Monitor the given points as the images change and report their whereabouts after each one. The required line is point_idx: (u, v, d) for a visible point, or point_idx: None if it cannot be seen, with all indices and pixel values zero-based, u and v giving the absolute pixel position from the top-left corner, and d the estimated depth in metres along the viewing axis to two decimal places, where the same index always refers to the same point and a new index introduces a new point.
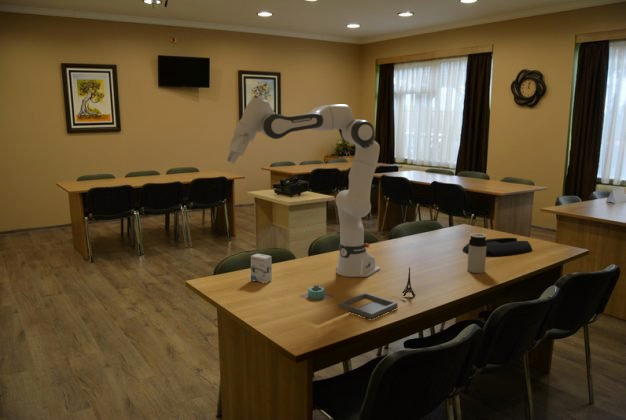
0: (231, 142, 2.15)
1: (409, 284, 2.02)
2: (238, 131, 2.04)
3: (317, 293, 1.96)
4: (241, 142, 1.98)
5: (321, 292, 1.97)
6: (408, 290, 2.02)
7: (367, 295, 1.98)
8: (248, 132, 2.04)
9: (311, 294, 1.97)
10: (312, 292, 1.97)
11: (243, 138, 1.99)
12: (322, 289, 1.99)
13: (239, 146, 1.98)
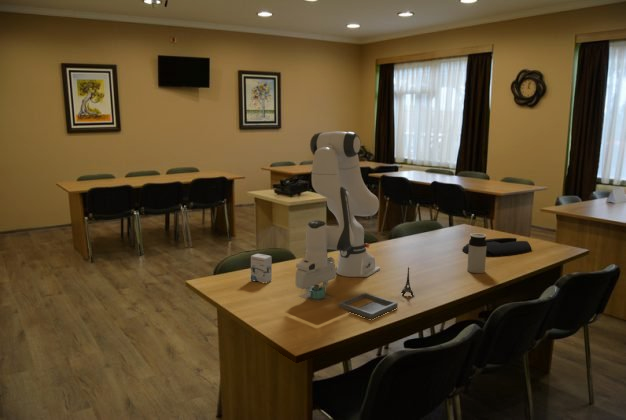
0: (304, 281, 1.91)
1: (408, 284, 2.03)
2: None
3: (317, 293, 1.96)
4: None
5: (321, 292, 1.97)
6: (407, 290, 2.03)
7: (367, 295, 1.98)
8: None
9: None
10: None
11: None
12: (322, 289, 1.99)
13: None
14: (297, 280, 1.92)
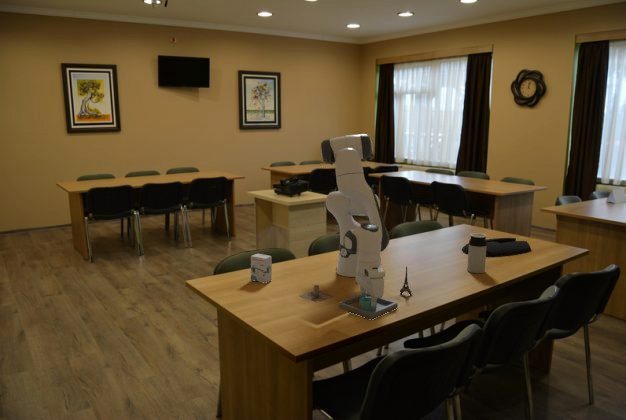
0: None
1: (406, 283, 2.04)
2: None
3: (376, 302, 1.87)
4: None
5: None
6: (405, 289, 2.04)
7: (367, 295, 1.98)
8: None
9: (371, 306, 1.86)
10: None
11: None
12: None
13: None
14: (377, 290, 1.78)
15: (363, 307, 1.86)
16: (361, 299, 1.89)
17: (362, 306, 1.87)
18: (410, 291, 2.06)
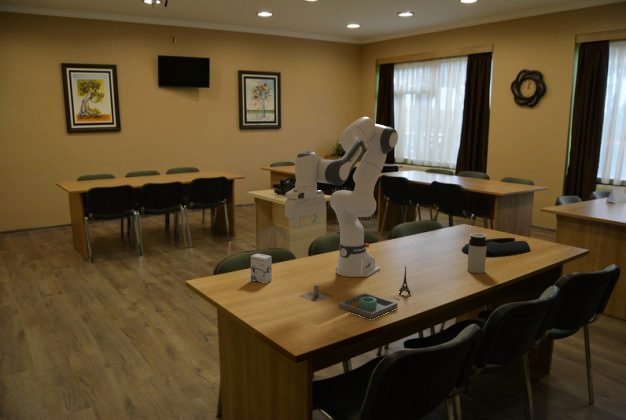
0: (293, 210, 1.92)
1: (405, 283, 2.04)
2: (316, 194, 1.98)
3: (376, 302, 1.87)
4: None
5: None
6: (404, 289, 2.04)
7: (367, 295, 1.98)
8: None
9: (371, 306, 1.86)
10: (373, 303, 1.86)
11: None
12: (371, 297, 1.90)
13: None
14: (287, 209, 1.92)
15: (363, 307, 1.86)
16: (361, 299, 1.89)
17: (362, 306, 1.87)
18: (409, 291, 2.07)
